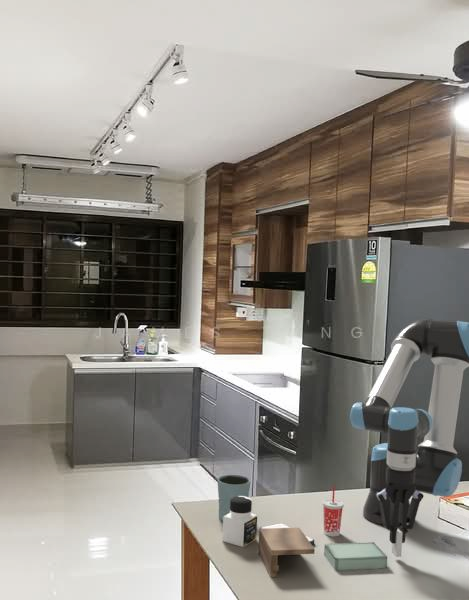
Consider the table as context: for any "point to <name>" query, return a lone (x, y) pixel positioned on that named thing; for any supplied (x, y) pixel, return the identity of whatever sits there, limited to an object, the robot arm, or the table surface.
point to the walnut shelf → (281, 546)
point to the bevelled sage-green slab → (355, 556)
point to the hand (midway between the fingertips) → (396, 554)
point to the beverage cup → (332, 516)
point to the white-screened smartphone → (286, 527)
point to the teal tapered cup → (231, 491)
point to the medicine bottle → (240, 522)
